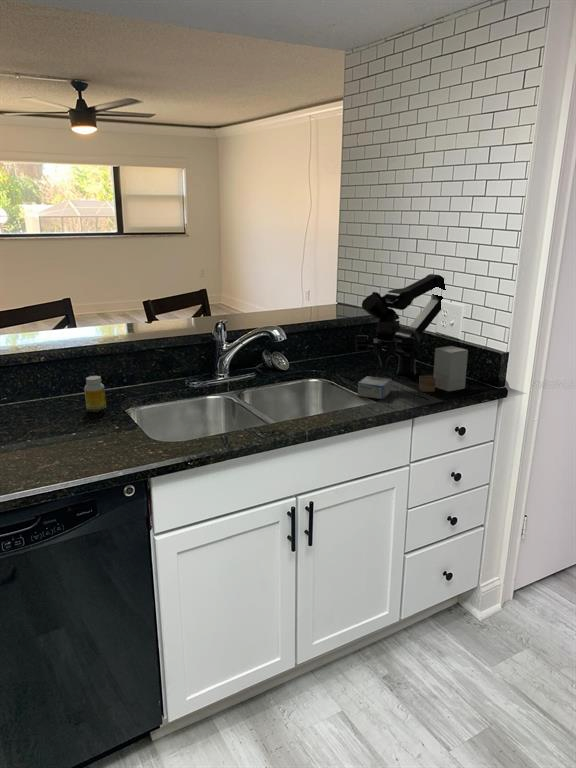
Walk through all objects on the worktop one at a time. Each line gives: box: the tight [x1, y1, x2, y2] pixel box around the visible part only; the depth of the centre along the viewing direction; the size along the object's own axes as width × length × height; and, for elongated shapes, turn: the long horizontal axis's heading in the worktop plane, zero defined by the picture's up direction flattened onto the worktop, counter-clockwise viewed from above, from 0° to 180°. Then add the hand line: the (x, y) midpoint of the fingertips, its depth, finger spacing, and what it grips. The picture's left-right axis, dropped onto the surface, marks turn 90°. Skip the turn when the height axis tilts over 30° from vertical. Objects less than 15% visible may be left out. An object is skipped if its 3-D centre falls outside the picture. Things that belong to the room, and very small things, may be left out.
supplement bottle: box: [83, 375, 107, 411], centre depth 159 cm, size 5×5×10 cm
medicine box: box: [357, 375, 392, 400], centre depth 173 cm, size 8×4×9 cm
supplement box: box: [432, 345, 469, 392], centre depth 179 cm, size 7×7×13 cm
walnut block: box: [418, 375, 436, 393], centre depth 178 cm, size 4×4×4 cm
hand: (383, 367), depth 176 cm, fingers closed
